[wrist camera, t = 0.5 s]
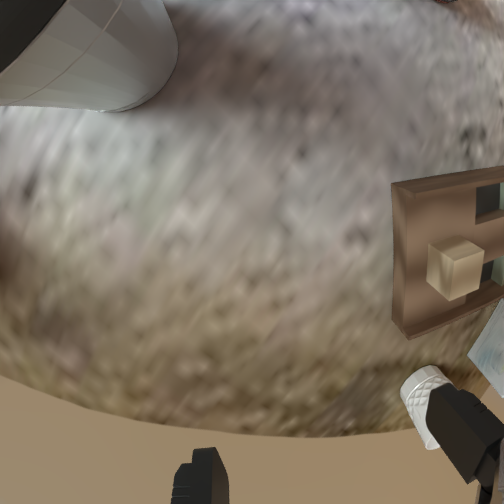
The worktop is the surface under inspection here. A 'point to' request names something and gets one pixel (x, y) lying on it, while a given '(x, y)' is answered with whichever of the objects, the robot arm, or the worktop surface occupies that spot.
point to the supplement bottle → (445, 1)
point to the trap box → (438, 228)
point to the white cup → (422, 399)
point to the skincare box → (491, 350)
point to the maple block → (454, 266)
